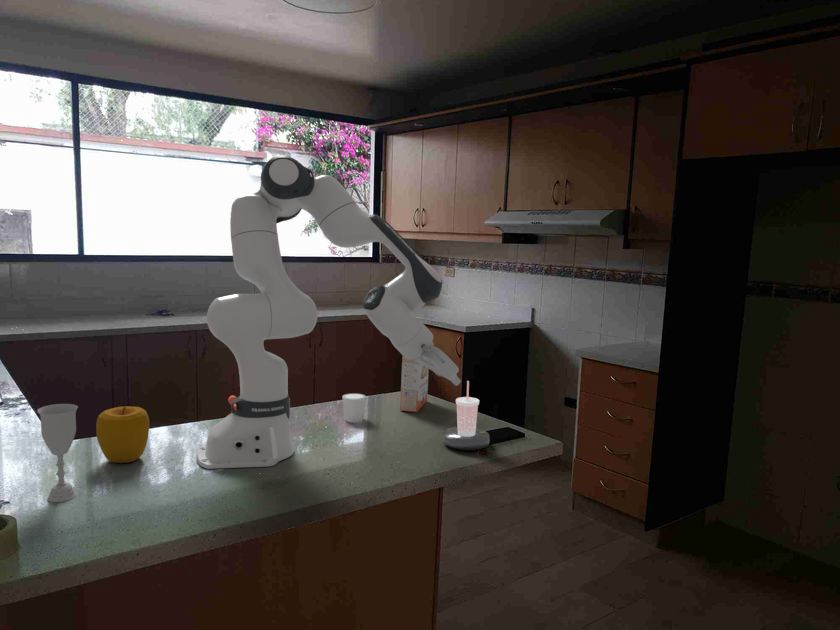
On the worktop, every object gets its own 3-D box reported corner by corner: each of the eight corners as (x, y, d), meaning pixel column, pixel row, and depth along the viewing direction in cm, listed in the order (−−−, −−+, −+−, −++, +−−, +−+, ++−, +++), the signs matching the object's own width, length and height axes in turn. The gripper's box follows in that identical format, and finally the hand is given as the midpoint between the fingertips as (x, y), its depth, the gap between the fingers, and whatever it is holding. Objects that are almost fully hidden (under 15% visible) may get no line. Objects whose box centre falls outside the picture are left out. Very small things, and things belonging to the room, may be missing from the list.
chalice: (87, 497, 122) (83, 409, 119) (49, 507, 116) (44, 416, 114) (73, 486, 126) (70, 401, 124) (36, 495, 121) (31, 408, 119)
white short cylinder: (364, 423, 174) (364, 399, 173) (340, 422, 174) (340, 398, 173) (366, 416, 181) (367, 393, 180) (343, 415, 181) (344, 392, 180)
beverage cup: (480, 431, 160) (482, 379, 158) (475, 438, 154) (476, 385, 152) (458, 428, 162) (459, 377, 160) (451, 435, 156) (453, 382, 154)
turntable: (454, 455, 151) (455, 443, 151) (435, 439, 162) (435, 428, 162) (497, 450, 155) (497, 439, 155) (476, 435, 166) (476, 424, 166)
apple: (98, 473, 133) (96, 416, 132) (96, 456, 143) (93, 403, 141) (153, 464, 139) (152, 410, 137) (147, 449, 148) (145, 398, 146)
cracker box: (418, 413, 185) (420, 345, 182) (399, 411, 187) (401, 344, 184) (428, 401, 199) (430, 338, 196) (410, 399, 200) (412, 336, 197)
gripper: (442, 340, 139) (477, 379, 144) (408, 325, 157) (440, 360, 163) (423, 360, 138) (460, 399, 143) (391, 343, 156) (424, 378, 161)
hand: (449, 378), depth 153 cm, fingers open, 8 cm apart
